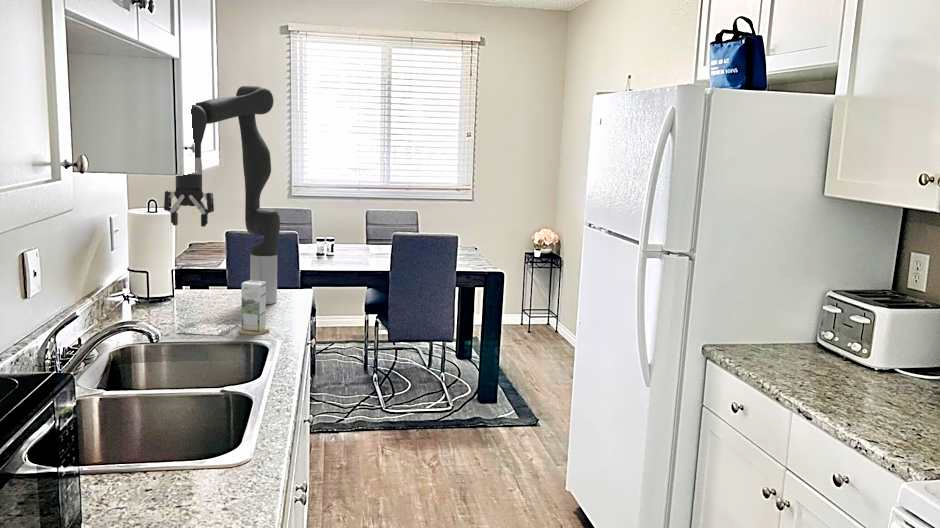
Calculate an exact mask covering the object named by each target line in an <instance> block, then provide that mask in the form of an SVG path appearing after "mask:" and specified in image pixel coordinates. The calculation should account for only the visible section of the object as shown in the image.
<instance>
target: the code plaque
mask: <svg viewBox="0 0 940 528" xmlns="http://www.w3.org/2000/svg"><path fill="white" fill-rule="evenodd" d="M191 323H192V324H191ZM191 323H188V324H187V325H186V326H188V327H189V328H191V327H190V326H192V325H195V326H196V324H198V323H199V322H191ZM194 323H196V324H194ZM186 326H185V327H186ZM192 327H193V326H192ZM229 327H230V326H229ZM186 328H187V327H186ZM198 328H199V327H198ZM230 328H231V327H230ZM230 328H229V329H228V330H226V331H225V330H223V331H224V332H223V331H221V333H219V334H218V337H224V336H225V335H226V334H228V333H229V332H230V331H231V330H230ZM234 328H235V327H233V329H234ZM187 329H188V328H187ZM195 330H196V329H195Z"/></svg>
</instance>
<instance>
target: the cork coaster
mask: <svg viewBox="0 0 940 528" xmlns="http://www.w3.org/2000/svg"><path fill="white" fill-rule="evenodd" d="M237 330H238V333H239V334H241V335H249V336H257V335H265V334H268V333H269V332H270V328H269V327H267V326H266V327H265V328H264V329H263V330H261V331H247V330H242V326H241V327H239V328H238V329H237Z"/></svg>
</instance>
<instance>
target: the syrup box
mask: <svg viewBox="0 0 940 528" xmlns="http://www.w3.org/2000/svg"><path fill="white" fill-rule="evenodd" d="M266 307H267V304H266V282H265V281H250V279H249V280H245V281H243V282H241V327H242V330H247V331H261V330H263V329H264V328H265V327H267V325H266V323H267V322H266V321H267V320H266V312H267V311H266Z"/></svg>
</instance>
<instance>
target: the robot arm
mask: <svg viewBox="0 0 940 528" xmlns="http://www.w3.org/2000/svg"><path fill="white" fill-rule="evenodd" d="M235 94H236V95H235V96H225V97H216V98H212V99H207V100H204V101H200V102H195V103H196V105H192V109H191V114H192V128H193V139H194V143H195V173H192V174H188V175H183V176H176V175H175V190H174V191H172V190H165V191H164V198H163V199H164V201H163V202H164V203H163V209H164V211H167V212H169V213H170V223H171V224H172V226H178V224H179V218H178V217H179V216H178V210H180V208H181V207H186V206H189V207H196V209H198V211H199V212H200V213H201V214H200V223H201V224H200V226H201V227H206V226H207V224H208V216H209V214H210V213H214V211H215V209H214V208H215V204H214V193H213V192H203V163H202V142H203V139H204V135H205V132H206V128H207V125H209V124H210V125H211V124H213V123H217V122H218V123H219V122H222V121H225V120H228V119H233V118H236V117H237V119H238V125H239V131H240V138H241V140H240V141H241V150H242V152H241V153H242V165H243V177H244V178H243V179H244V189H245V190H244V192H245V194H244V195H245V197H244V198H245V199H244V200H245V205H244V207H245V208H244V209H245V210H244V223H245V228H246V231H247V232H248V233H249V234H250V235H255V236H263V240H262V241H261V242H259V243H257V244H254V245H251V246H250V252H249V253H250V254H249V255H250V257H249V258H250V259H249V260H250V261H249V262H250V264H249V265H250V267H249V269H250V270H249V272H250V275H249V276H250V278H249V281H265V282H266V305H270V304H271V305H272V304H277V301H278V249H279V244H280V232H281V231H280V228H281V219H280V214H279V212H278V211H276V210H275V209H268V208H267V209H265V208H261V206H260V205H261V204H260V199H261V195H262V191H263V190H264V188H265V186H266V183H267V182H268V180H269V179H270V177H271V173H272V162H271V160H272V159H271V152H270V150H269V147H268V145H267V143H266V142H265V140H264V139H263V137H262V135H261V134H260V132H259V129H258V126H257V122H256V115H265V114H268V113H269V112H270V111H271V110H272V109H273V107H274V96H273V93H272V92H271V90H270V89H268V88H266V86H265V87H264V86H259V85H256V86H255V85H241V86H239V88H238V89H237V91H236V93H235ZM196 171H197V172H196ZM174 197H175V198H176V201H175V202H174V204H173V205H172V199H173V198H174ZM203 198H204V199H205V200H206V206H205V205H204V203H203V202H202V199H203Z"/></svg>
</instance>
